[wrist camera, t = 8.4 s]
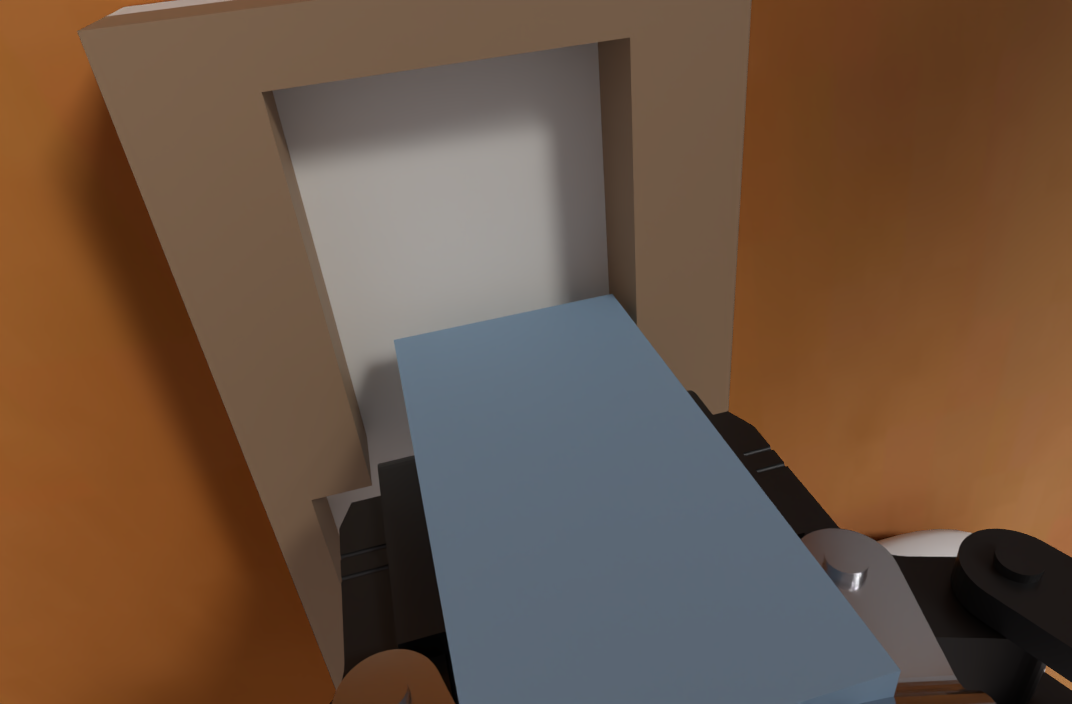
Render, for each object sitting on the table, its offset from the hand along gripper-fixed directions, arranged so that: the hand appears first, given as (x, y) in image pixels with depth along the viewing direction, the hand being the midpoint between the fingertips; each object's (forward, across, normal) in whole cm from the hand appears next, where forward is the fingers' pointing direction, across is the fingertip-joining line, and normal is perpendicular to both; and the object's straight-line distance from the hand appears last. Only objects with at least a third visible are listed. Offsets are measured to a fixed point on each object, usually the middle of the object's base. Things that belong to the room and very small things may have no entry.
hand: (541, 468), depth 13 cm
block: (+2, 0, 0) cm, 2 cm away
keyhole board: (+4, 0, 0) cm, 4 cm away
